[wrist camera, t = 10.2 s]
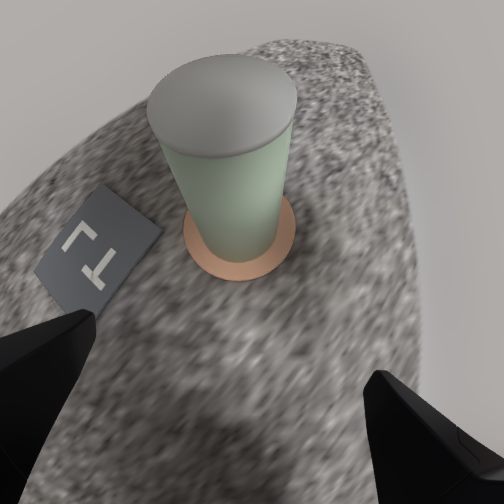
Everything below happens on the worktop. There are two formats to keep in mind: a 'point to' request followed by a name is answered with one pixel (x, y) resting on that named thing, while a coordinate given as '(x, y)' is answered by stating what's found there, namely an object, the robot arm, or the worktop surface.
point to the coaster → (245, 269)
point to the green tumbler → (227, 147)
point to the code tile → (95, 252)
